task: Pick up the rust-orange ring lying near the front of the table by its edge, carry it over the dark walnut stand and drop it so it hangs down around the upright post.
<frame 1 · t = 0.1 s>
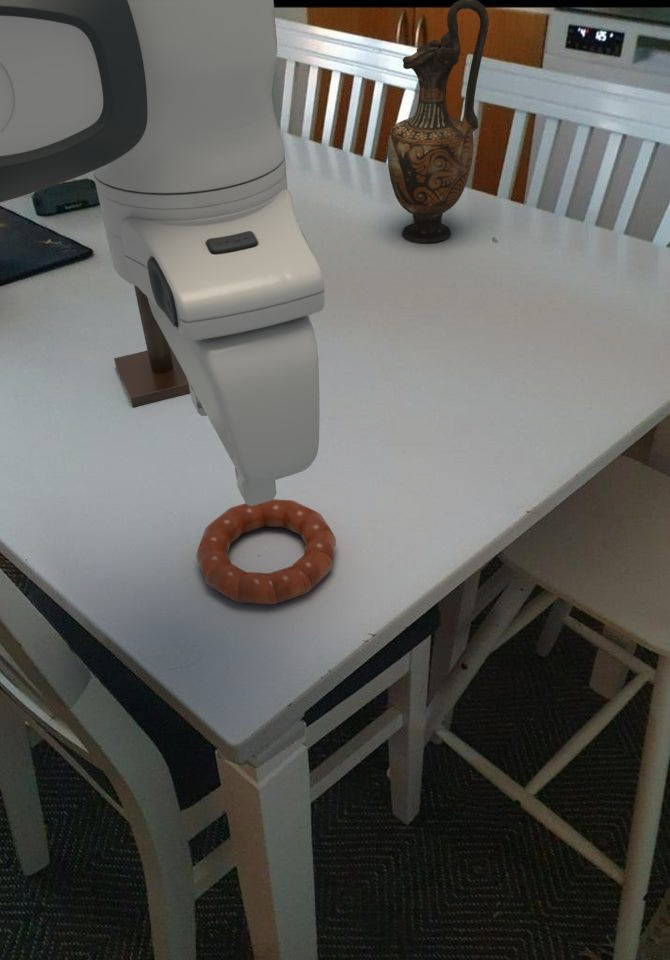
hand: (231, 449, 48), 19 cm above the table, tool pointing down, fingers open, 8 cm apart
beverage can: (274, 316, 101), on the table
ring: (266, 548, 67), point 1 cm above the table
vase: (429, 236, 118), on the table
post: (164, 376, 90), on the table
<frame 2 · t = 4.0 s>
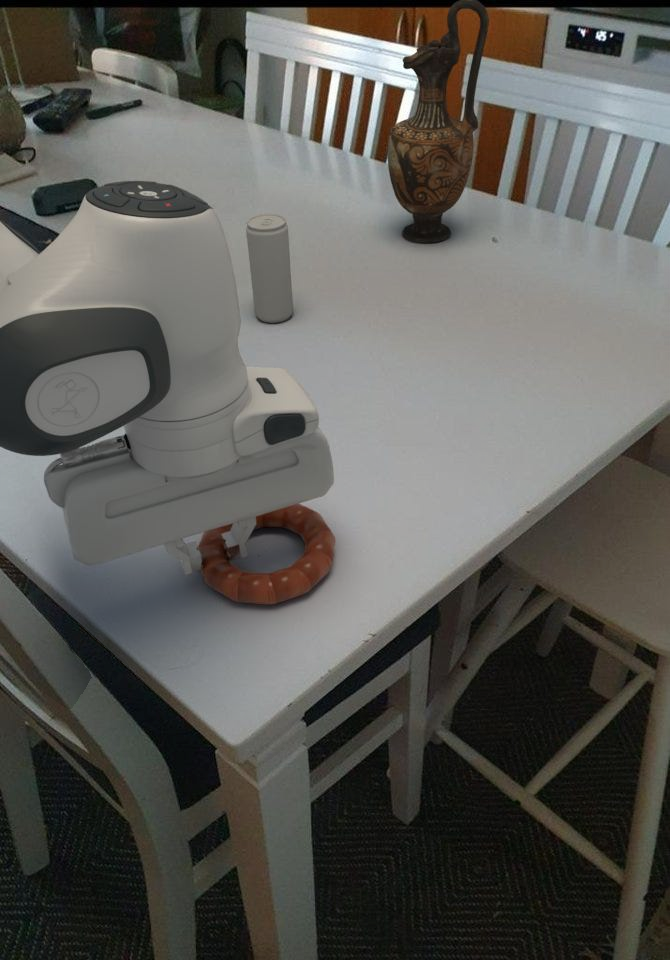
hand: (214, 560, 65), 2 cm above the table, tool pointing down, fingers closed on ring, 2 cm apart
ring: (266, 548, 67), point 1 cm above the table, touching gripper
everything else where it was.
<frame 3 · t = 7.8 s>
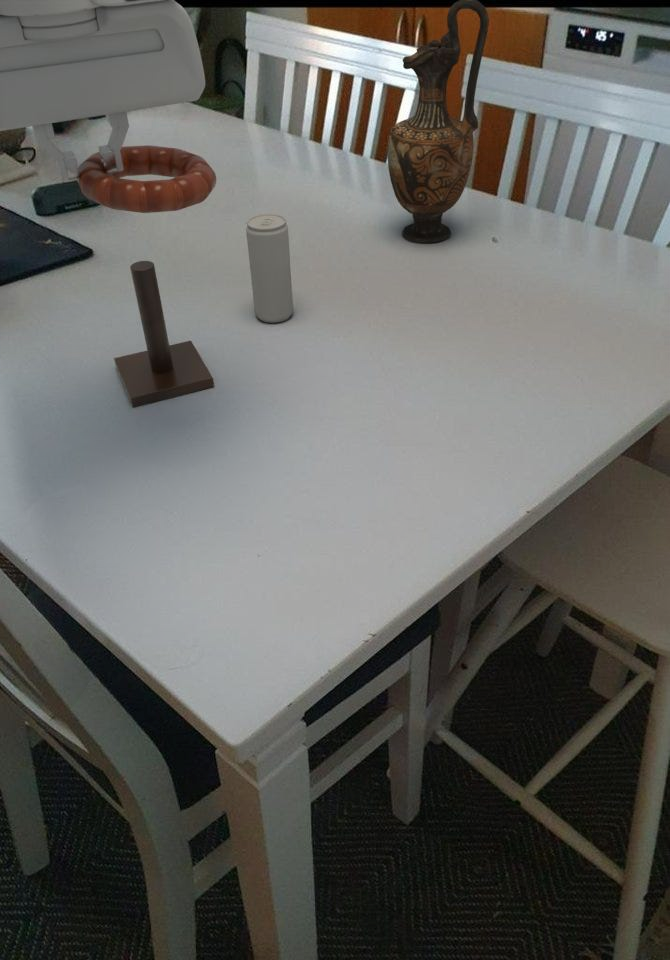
hand: (92, 174, 66), 26 cm above the table, tool pointing down, fingers closed on ring, 2 cm apart
ring: (147, 177, 68), point 25 cm above the table, tilted 6°, touching gripper
everything else where it was.
when the fingers open (13 cm above the table, at t = 11.7 s): ring drops 9 cm, resting on post.
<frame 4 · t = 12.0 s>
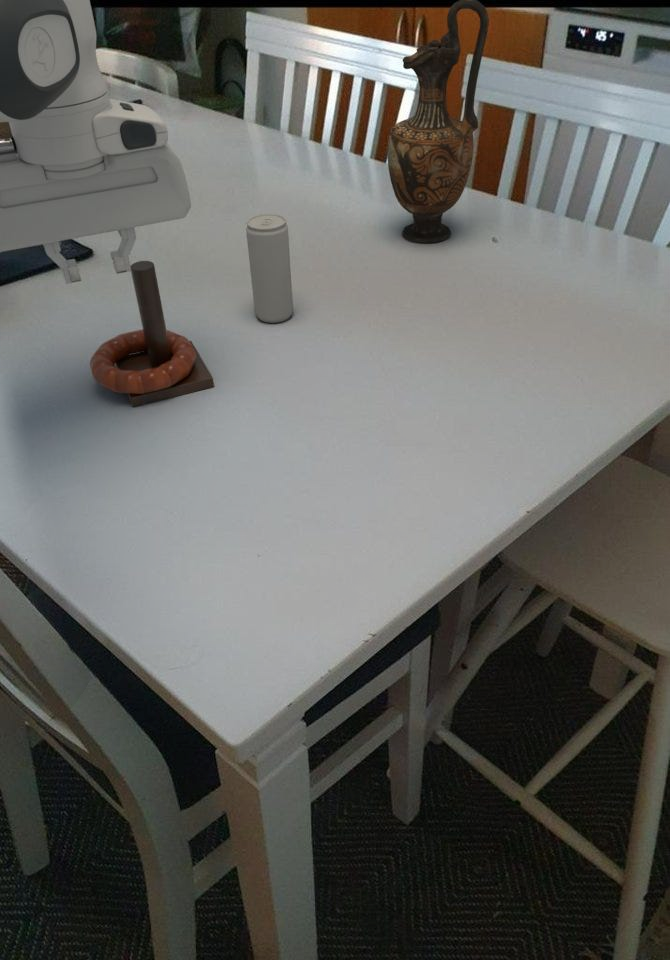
hand: (98, 275, 81), 13 cm above the table, tool pointing down, fingers open, 4 cm apart
ring: (143, 360, 88), point 2 cm above the table, touching post
everything else where it was.
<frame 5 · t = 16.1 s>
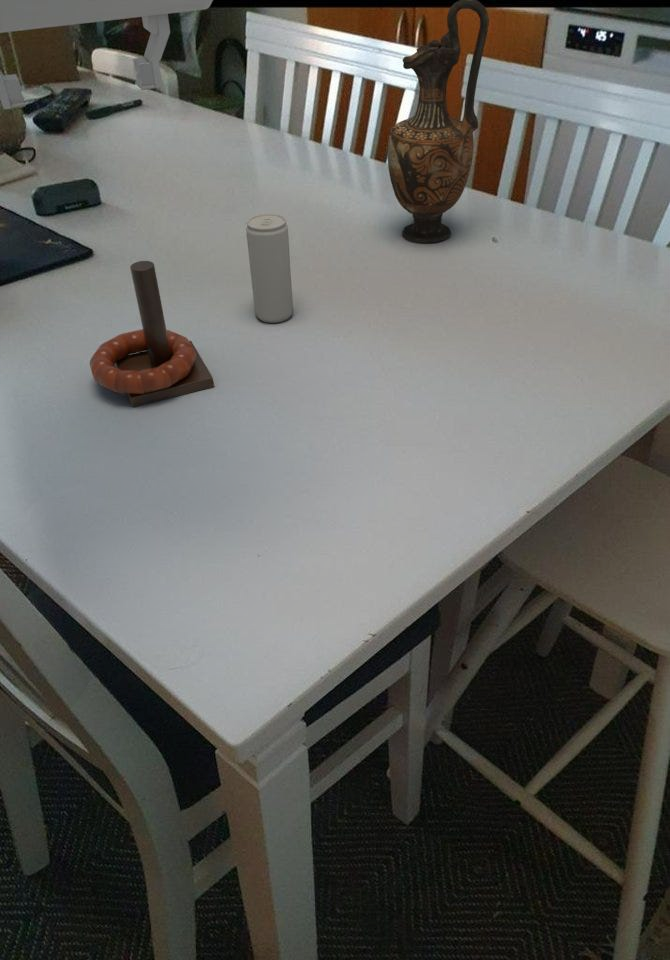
hand: (83, 96, 57), 33 cm above the table, tool pointing down, fingers open, 8 cm apart
nothing on the table moved.
at the end: ring 1.8 cm from the post (horizontally); ring 1.8 cm off-centre on the post, point 2.4 cm above the post's base; the gripper is holding nothing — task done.
